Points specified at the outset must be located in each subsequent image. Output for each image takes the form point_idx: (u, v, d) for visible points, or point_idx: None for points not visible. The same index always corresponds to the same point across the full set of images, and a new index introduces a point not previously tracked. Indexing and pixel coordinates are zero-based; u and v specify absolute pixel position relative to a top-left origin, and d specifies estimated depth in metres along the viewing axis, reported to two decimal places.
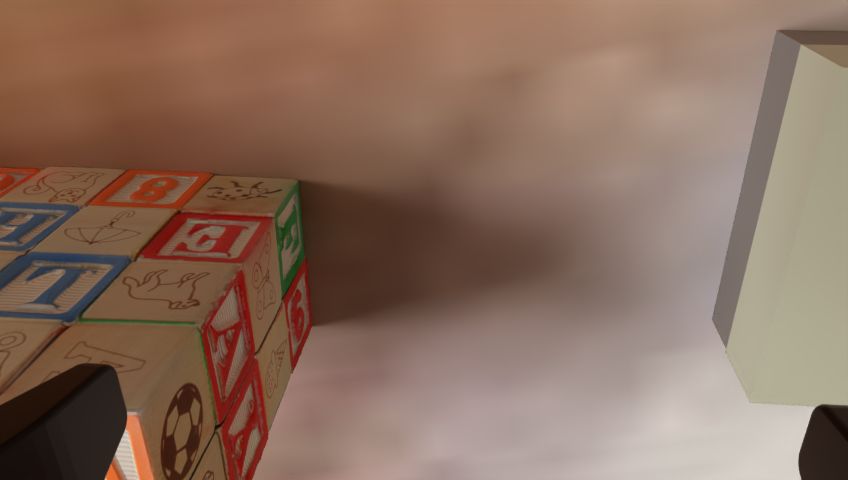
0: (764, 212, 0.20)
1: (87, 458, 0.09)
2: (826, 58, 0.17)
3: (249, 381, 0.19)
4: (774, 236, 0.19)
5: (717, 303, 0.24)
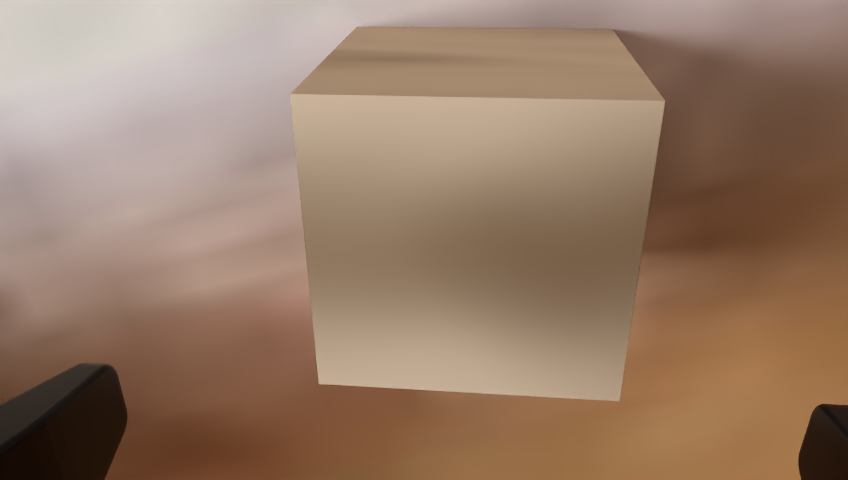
0: None
1: (87, 458, 0.09)
2: None
3: None
4: None
5: None
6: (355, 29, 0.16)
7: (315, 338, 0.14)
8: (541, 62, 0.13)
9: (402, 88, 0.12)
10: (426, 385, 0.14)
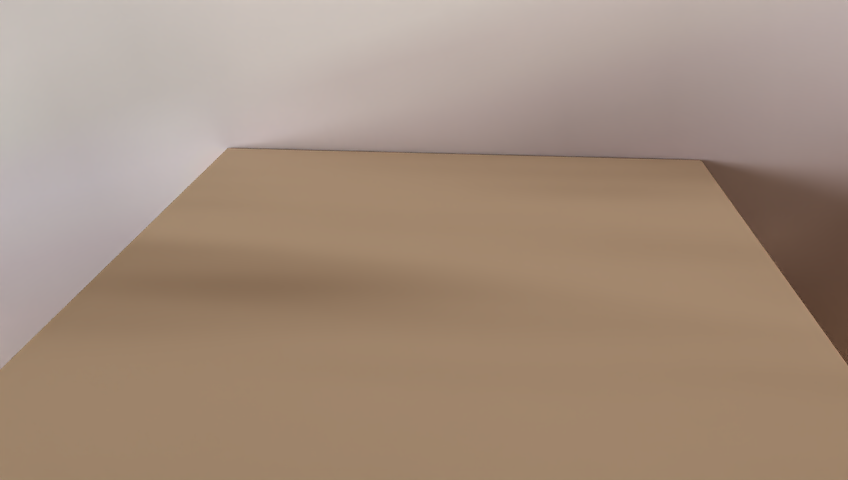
0: None
1: None
2: None
3: None
4: None
5: None
6: (219, 158, 0.09)
7: None
8: (581, 308, 0.06)
9: None
10: None
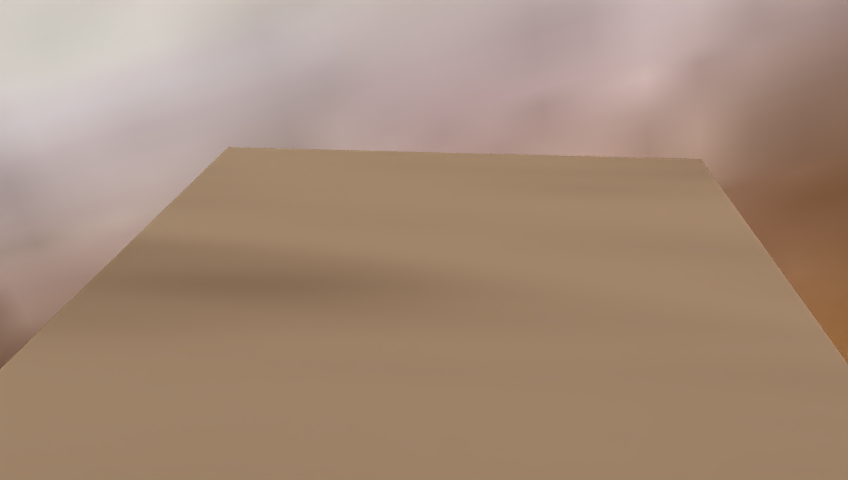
0: None
1: None
2: None
3: None
4: None
5: None
6: (220, 157, 0.09)
7: None
8: (582, 306, 0.06)
9: (198, 478, 0.04)
10: None
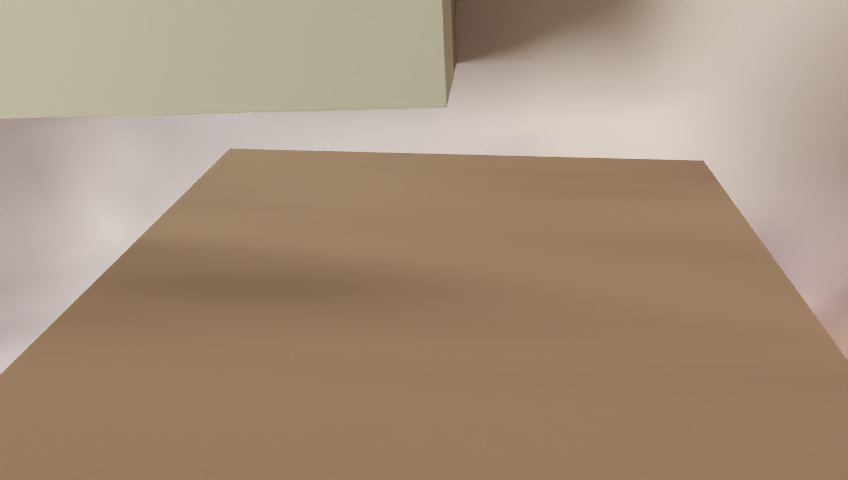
0: None
1: None
2: None
3: None
4: None
5: None
6: (221, 159, 0.09)
7: None
8: (585, 309, 0.06)
9: None
10: None
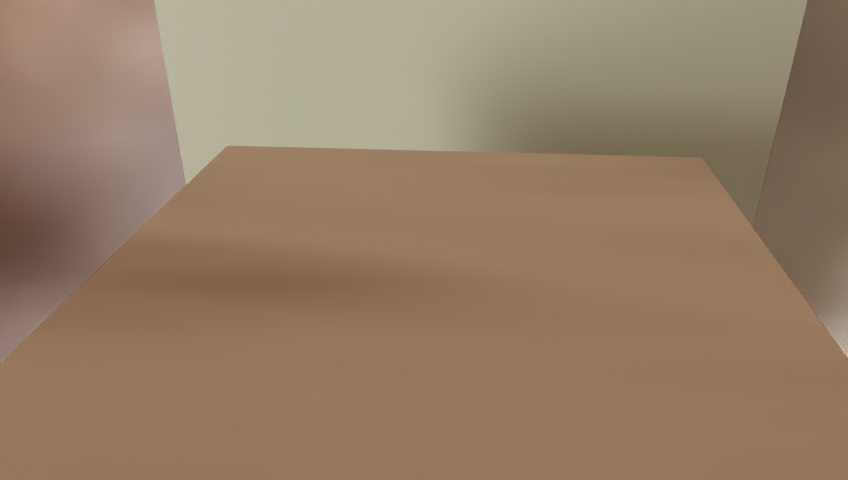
0: None
1: None
2: None
3: None
4: None
5: None
6: (218, 156, 0.09)
7: None
8: (582, 305, 0.06)
9: (193, 479, 0.04)
10: None
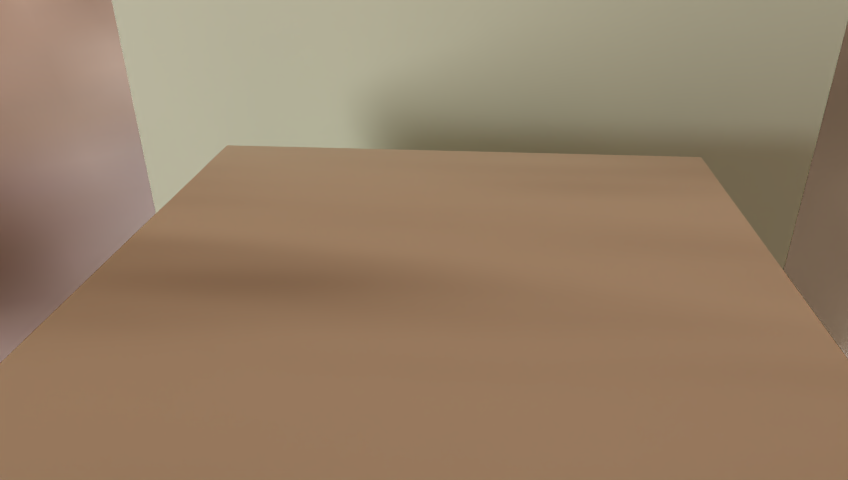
0: None
1: None
2: None
3: None
4: None
5: None
6: (218, 155, 0.09)
7: None
8: (582, 304, 0.06)
9: (194, 478, 0.04)
10: None
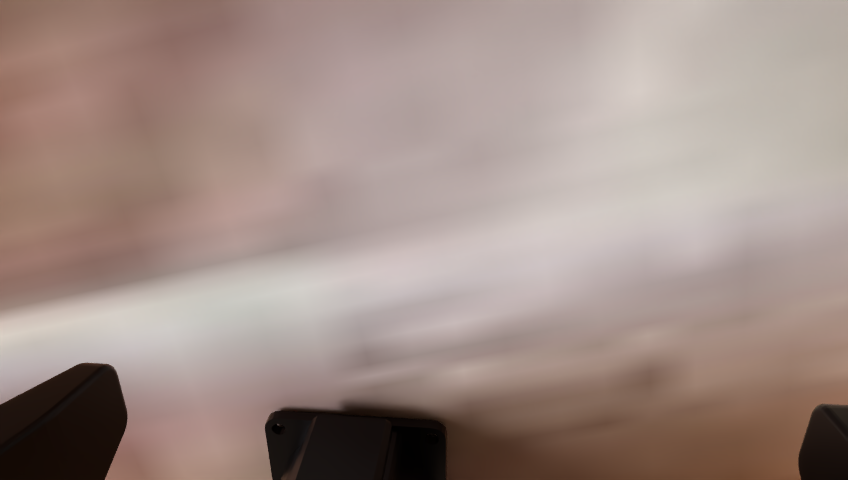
0: None
1: (87, 458, 0.09)
2: None
3: None
4: None
5: None
6: None
7: None
8: None
9: None
10: None
